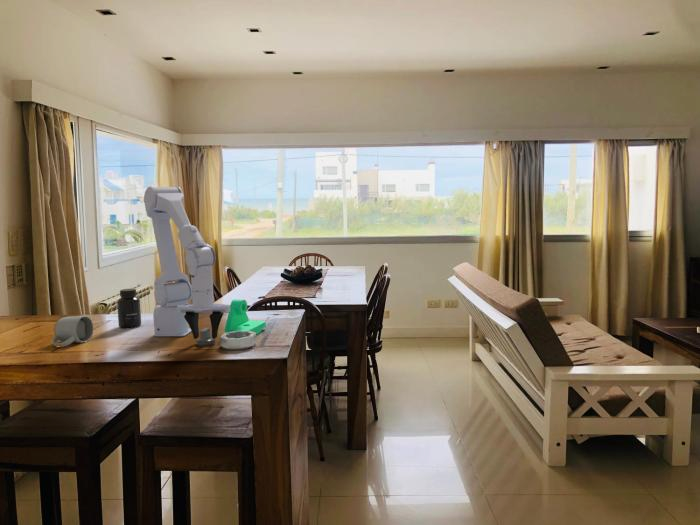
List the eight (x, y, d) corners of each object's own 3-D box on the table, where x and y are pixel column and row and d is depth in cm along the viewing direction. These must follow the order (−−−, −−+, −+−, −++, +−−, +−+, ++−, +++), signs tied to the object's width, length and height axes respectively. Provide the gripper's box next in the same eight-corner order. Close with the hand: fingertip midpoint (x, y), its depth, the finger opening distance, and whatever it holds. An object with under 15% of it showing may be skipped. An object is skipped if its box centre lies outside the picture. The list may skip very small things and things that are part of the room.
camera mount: (248, 339, 157) (246, 304, 156) (225, 338, 159) (223, 303, 158) (267, 329, 168) (265, 296, 167) (245, 328, 171) (243, 295, 169)
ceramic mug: (71, 337, 164) (68, 312, 163) (95, 338, 162) (92, 313, 161) (44, 348, 154) (41, 321, 153) (70, 349, 152) (67, 322, 151)
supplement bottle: (131, 329, 172) (128, 292, 170) (114, 328, 174) (111, 291, 172) (146, 324, 178) (143, 288, 177) (129, 323, 180) (126, 287, 179)
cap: (193, 346, 151) (192, 331, 151) (200, 341, 156) (199, 327, 156) (211, 346, 151) (211, 331, 150) (217, 341, 156) (217, 327, 155)
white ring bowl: (217, 350, 147) (216, 339, 146) (227, 340, 156) (227, 330, 155) (250, 350, 146) (249, 339, 145) (258, 340, 155) (258, 330, 154)
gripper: (171, 293, 148) (174, 341, 150) (223, 292, 147) (226, 341, 149) (181, 288, 155) (184, 335, 157) (231, 287, 154) (234, 334, 156)
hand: (205, 337), depth 153 cm, fingers open, 5 cm apart
